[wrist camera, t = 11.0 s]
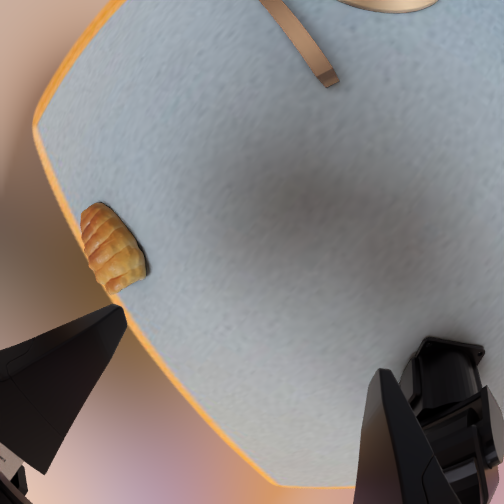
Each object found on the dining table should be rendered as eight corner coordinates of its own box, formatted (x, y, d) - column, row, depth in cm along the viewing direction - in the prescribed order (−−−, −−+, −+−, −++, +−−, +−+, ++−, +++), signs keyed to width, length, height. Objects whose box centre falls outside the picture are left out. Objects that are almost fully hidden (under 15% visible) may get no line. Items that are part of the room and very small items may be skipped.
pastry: (84, 218, 29) (59, 230, 26) (111, 187, 26) (82, 197, 22) (125, 288, 31) (102, 305, 27) (159, 269, 27) (134, 288, 24)
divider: (339, 81, 15) (333, 68, 12) (325, 87, 16) (316, 76, 12) (246, -35, 13) (222, -59, 9) (235, -29, 13) (209, -51, 10)
